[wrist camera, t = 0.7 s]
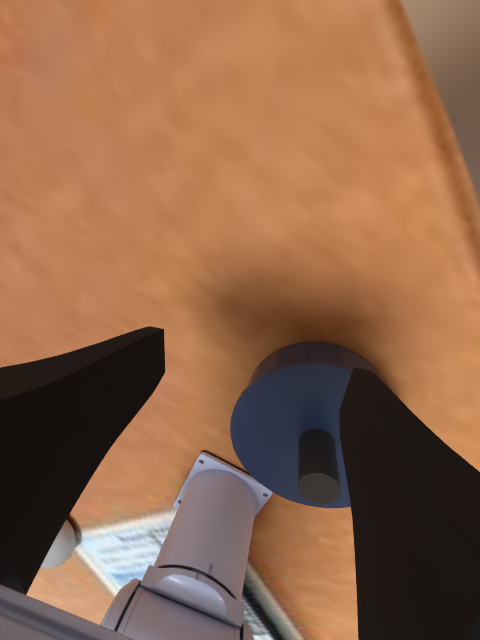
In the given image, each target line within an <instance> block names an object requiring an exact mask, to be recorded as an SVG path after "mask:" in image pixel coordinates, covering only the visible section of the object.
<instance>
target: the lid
mask: <svg viewBox="0 0 480 640" xmlns="http://www.w3.org/2000/svg"><path fill="white" fill-rule="evenodd" d="M352 370H353V367H350V366H346V365H343V364H339V363H333V362H327V361H301V362H295V363H289V364H286V365H283V366H279V367H276V368H274V369H272V370H270V371H267V372H266V373H264V374H262V375H261V376H259V377H258V378H256V379H255V380H254V381H253V382H252V383H250V384H249V385H248V386H247V388H246V389H245V390H244V391H243V392H242V394H241V395H240V397H239V399H238V401H237V403H236V405H235V407H234V410H233V414H232V418H231V426H230V431H231V439H232V444H233V447H234V450H235V452H236V455H237V457H238V458H239V460H240V462H241V463H242V465H243V466H244V468H245V469H246V470H247V471H248V472H249V474H250V475H251V476H252V477H253V478H254V479H255V480H257V481H258V482H259V483H260V484H261V485H263V486H264V487H266V488H267V489H268V490H270V491H272V492H274V493H275V494H277V495H279V496H281V497H283V498H286V499H288V500H291V501H294V502H296V503H300V504H304V505H308V506H314V507H322V508H344V507H351V502H350V496H349V490H348V484H347V478H346V472H345V466H344V460H343V454H342V448H341V441H340V427H339V410H340V407H341V404H342V401H343V398H344V395H345V392H346V388H347V385H348V382H349V379H350V376H351V373H352Z"/></svg>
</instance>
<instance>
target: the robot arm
mask: <svg viewBox="0 0 480 640" xmlns="http://www.w3.org/2000/svg"><path fill="white" fill-rule="evenodd" d="M164 373H165V350H164V329H160V328H155V327H150V326H149V327H145V328H141V329H138V330H135V331H132V332H129V333H126V334H123V335H120V336H118V337H115V338H112V339H109V340H106V341H103V342H100V343H97V344H94V345H91V346H88V347H85V348H81V349H78V350H75V351H72V352H69V353H65V354H61V355H58V356H54V357H50V358H46V359H41V360H37V361H33V362H28V363H23V364H18V365H12V366H7V367H1V368H0V640H254V638H253V636H252V632H251V628H250V626H248V625H246V624H242V618H243V612H244V603H242V602H241V596H242V590H243V584H244V578H245V572H246V566H247V560H248V554H249V548H250V542H251V535H252V529H253V523H254V518H255V516H256V515H257V514H258V512H259V511H260V510H261V508H262V507H263V506H264V504H265V503H266V502H267V500H268V499H269V498H270V496H271V495H272V493H273V492H272V491H270V490H268V489H267V488H266V487H264V486H263V485H261V484H260V483H259V482H258V481H257V480H255V479H254V478H253V477H252V476H250V475H248V474H247V473H245V472H243V471H241V470H239V469H237V468H235V467H233V466H231V465H229V464H227V463H225V462H223V461H222V460H220V459H218V458H216V457H214V456H212V455H210V454H208V453H206V452H201V453H200V454H199V456H198V458H197V460H196V462H195V464H194V466H193V468H192V470H191V472H190V474H189V475H188V477H187V479H186V481H185V483H184V485H183V487H182V489H181V491H180V493H179V495H178V497H177V498H176V500H175V502H174V505H173V507H174V508H175V509H176V510H178V511H177V513H176V516H175V518H174V520H173V523H172V525H171V527H170V530H169V532H168V534H167V536H166V539H165V541H164V543H163V546H162V548H161V550H160V553H159V555H158V557H157V560H156V562H155V564H154V566H151V565H149V566H148V568H147V571H146V573H145V575H144V577H143V580H142V582H141V581H140V580H138V579H133V580H131V581H130V583H128V584H127V585H125V586H124V587H122V588H121V590H120V591H119V592H118V594H117V595H116V597H115V598H114V600H113V602H112V603H111V605H110V607H109V609H108V611H107V613H106V614H105V616H104V618H103V620H102V622H101V624H100V625H98V624H95V623H93V622H91V621H88V620H86V619H83V618H81V617H78V616H76V615H73V614H71V613H68V612H66V611H64V610H61V609H59V608H56V607H54V606H51V605H49V604H46V603H44V602H41V601H39V600H37V599H34V598H32V597H29V596H27V595H26V594H27V592H28V590H29V588H30V586H31V584H32V582H33V580H34V578H35V576H36V574H37V572H38V570H39V569H40V567H41V565H42V563H43V561H44V559H45V557H46V555H47V554H48V552H49V550H50V548H51V546H52V544H53V542H54V540H55V539H56V537H57V535H58V533H59V531H60V530H61V528H62V526H63V524H64V523H65V521H66V519H67V517H68V516H69V514H70V512H71V510H72V509H73V507H74V505H75V503H76V502H77V500H78V498H79V497H80V495H81V493H82V492H83V490H84V488H85V487H86V485H87V484H88V482H89V480H90V479H91V477H92V475H93V474H94V472H95V471H96V469H97V467H98V466H99V464H100V463H101V461H102V460H103V458H104V457H105V455H106V453H107V452H108V450H109V449H110V448H111V446H112V445H113V443H114V442H115V441H116V439H117V438H118V437H119V435H120V434H121V433H122V432H123V430H124V429H125V428H126V427H127V425H128V424H129V423H130V422H131V420H132V419H133V418H134V417H135V415H136V414H137V413H138V411H139V410H140V409H141V408H142V406H143V405H144V404H145V403H146V401H147V400H148V399H149V397H150V396H151V395H152V393H153V392H154V390H155V389H156V387H157V385H158V384H159V382H160V380H161V378H162V377H163V375H164ZM339 427H340V441H341V448H342V454H343V460H344V466H345V472H346V478H347V484H348V490H349V496H350V502H351V510H352V518H353V533H354V547H355V565H356V584H357V608H358V638H359V640H480V472H479V471H478V470H477V469H475V468H474V467H473V466H472V465H470V464H469V463H468V462H467V461H466V460H464V459H463V458H462V457H461V456H460V455H458V454H457V453H456V452H455V451H453V450H452V449H451V448H450V447H449V446H448V445H446V444H445V443H444V442H443V441H442V440H441V439H440V438H439V437H438V436H436V435H435V434H434V433H433V432H432V431H431V430H430V429H429V428H428V427H427V426H426V425H425V424H424V423H423V422H422V421H421V420H419V419H418V418H417V417H416V416H415V415H414V414H413V413H412V412H411V411H410V410H409V409H408V408H407V406H406V405H405V404H404V403H403V402H402V401H401V400H400V399H399V398H398V397H397V396H396V395H395V394H394V393H393V392H392V391H391V390H390V389H389V387H388V386H387V385H386V384H385V383H384V382H383V381H382V380H381V379H380V378H379V377H378V376H377V375H376V374H375V373H374V372H373V371H372V370H367V369H362V368H357V367H353V370H352V373H351V376H350V379H349V382H348V385H347V388H346V392H345V395H344V398H343V401H342V404H341V407H340V410H339Z"/></svg>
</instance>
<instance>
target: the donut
mask: <svg viewBox="0 0 480 640" xmlns="http://www.w3.org/2000/svg"><path fill="white" fill-rule="evenodd" d="M75 542H76V536H75V532H74V529H73V527H72V526H71V524H70V522H69V521H68V520H67V519H66V521H65V523H64V524H63V526H62V528H61V530H60V531H59V533H58V535H57V537H56V539H55V540H54V542H53V544H52V546H51V548H50V550H49V552H48V554H47V555H46V557H45V559H44V561H43V563H42V565H41V567H40V568H46V569H50V568H55V567H58V566H60V565H61V564H63V563H64V562H65V561H66V560H67V559H68V558H69V557H70V556H71V554H72V553H73V551H74V547H75Z"/></svg>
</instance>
